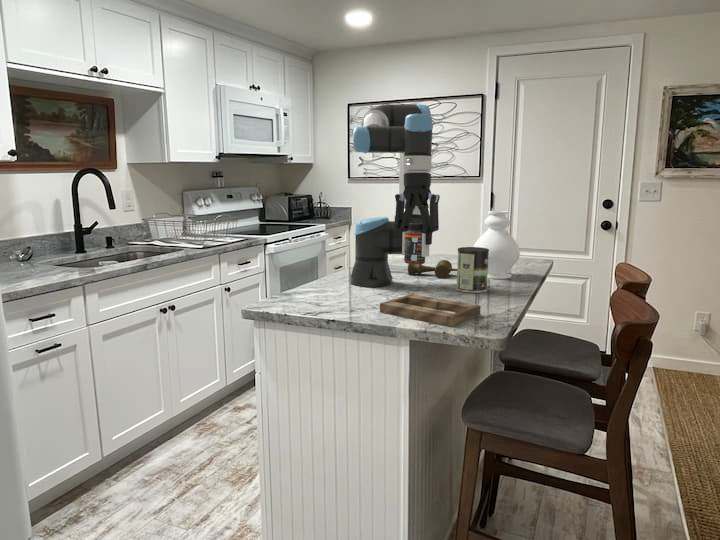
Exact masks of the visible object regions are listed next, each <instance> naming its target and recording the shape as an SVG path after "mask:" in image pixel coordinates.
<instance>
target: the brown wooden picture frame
mask: <svg viewBox="0 0 720 540" xmlns="http://www.w3.org/2000/svg"><path fill="white" fill-rule="evenodd" d="M481 308H482V307H481V305H479V304H473V303H468V302H462V301H454V300H449V299H443V298H438V297H431V296H426V295H420V294H419V295H418V294H415V293H410V294H407V295H403V296H400V297H397V298H393V299H390V300H386V301H383V302H380V303H379V312H380V313H382V314H387V315H391V316H392V315H393V316H397V317H403V318H406V319H413V320H418V321H422V322H426V323H432V324H437V325H441V326H448V327H455V326H457V325H460V324H461V323H464V322H466V321H469V320H470V319H474V318H476V317H477V316H480V315H481Z"/></svg>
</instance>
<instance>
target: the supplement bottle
mask: <svg viewBox="0 0 720 540" xmlns="http://www.w3.org/2000/svg"><path fill="white" fill-rule="evenodd" d="M423 232H424V230H423V224H420V223H409V229H408V231H406V233H405V252H404V255H403V258H404V259H403V260H404V263H405V264H407V265H408V264H422V265H424V264H425V263H426V257H422V233H423Z"/></svg>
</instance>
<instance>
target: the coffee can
mask: <svg viewBox="0 0 720 540" xmlns="http://www.w3.org/2000/svg"><path fill="white" fill-rule="evenodd" d="M488 255H489V249H487V248H480V247H473V246H462V247H458V248H457V268H456V269H457V271H456V272H457V274H456V275H457V276H456V291H459V292H461V293H469V294H475V293H476V294H479V293H480V294H481V293H485V292H487V291H488V278H487V275H488Z"/></svg>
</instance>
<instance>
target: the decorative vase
mask: <svg viewBox="0 0 720 540" xmlns="http://www.w3.org/2000/svg"><path fill="white" fill-rule="evenodd" d="M487 214H489V215H488V216H487V217H485V220H484V224H485V226H486V227H487V228H488V229H487V230H486V231H484V233H482V235H480V236H479V238H478V239H477V240H476V241H475V242H474V244H473V246H472V247H480V248H487V249H489V255H488V275H487V279H491V280H506V279H510V278H512V274H510V273H508V272H509V271H510V270H511V269H512V268H513V267H514V265H516V263H517V262H518V261H519V259H520V257H521V250H520V246H519V244H518V243H517V240H515V238H514V237H513V236H512V235H511V233H509V231H508V230H507V229H506V228H508V227H509V226H510V224H511V219H510V218H509V217H508V216H507V215H508V214H509V211H508V210H488V211H487Z"/></svg>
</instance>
